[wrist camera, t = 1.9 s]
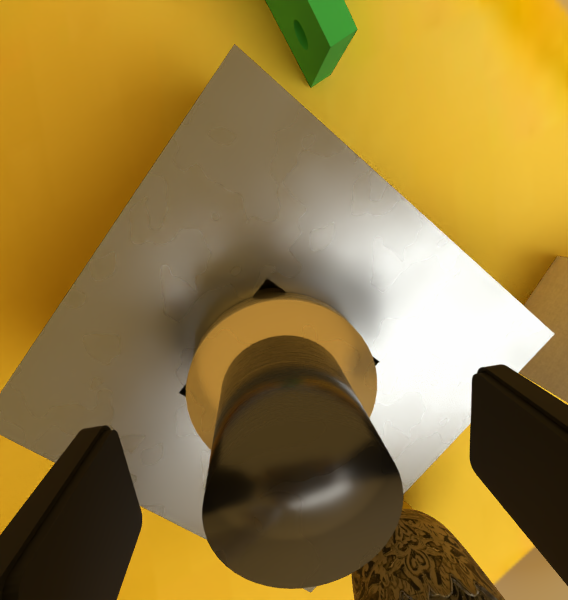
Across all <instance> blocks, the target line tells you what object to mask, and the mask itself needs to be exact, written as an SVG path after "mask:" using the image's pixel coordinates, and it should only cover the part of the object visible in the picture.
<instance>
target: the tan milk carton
mask: <svg viewBox="0 0 568 600" xmlns="http://www.w3.org/2000/svg"><path fill="white" fill-rule="evenodd" d="M524 307H525V308H527V309H528V310H529V311H530V312H531V313H532V314H533V315H534V316H535V317H536V318H538V319H539V320H540V321H541V322H542V323H543V324H544V325H545V326H546V327H548V328H549V329H550V330H551V331H552V332H553V333H554V335H553V336H552V337H551V338H550V340H549V341H548V342H547V343H546V344H545V345H544V346H543V347H542V348H541V349H540V350H539V351H538V352H537V353H536V354H535V355H534V356H533V358H532V359H531V360H530V361H529V362H528V363H527V364H526V365H525V366H524V367H523V368H522V369H521V370H520V371H519V372H518V373H520V374H521V375H523V376H525V377H526V378H528V379H530V380H531V381H533V382H535V383H536V384H538V385H540V386H541V387H543V388H544V389H546V390H548V391H549V392H551V393H553V394H554V395H556V396H558V397H559V398H561V399H563V400H564V401H566V402H567V403H568V258H567V257H561V256H557V257H556V259H555V260H554V262H553V263H552V265H551V266H550V268H549V269H548V271H547V272H546V273H545V275H544V276H543V278H542V279H541V281H540V282H539V284H538V285H537V287H536V288H535V290H534V291H533V293H532V294H531V295H530V297H529V298H528V300H527V301H526V303H525V304H524Z"/></svg>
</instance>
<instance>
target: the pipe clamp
mask: <svg viewBox="0 0 568 600" xmlns="http://www.w3.org/2000/svg"><path fill="white" fill-rule="evenodd" d="M265 1H266V3H267V5H268V7H269V8H270V10H271V12H272V14H273V16H274V18H275V20H276V22H277V24H278V26H279V28H280V30H281V31H282V33H283V35H284V37H285V39H286V41H287V43H288V45H289V47H290V49H291V51H292V53H293V55H294V56H295V58H296V60H297V62H298V64H299V66H300V68H301V70H302V72H303V74H304V76H305V78H306V80H307V81H308V83H309V85H310V87H313V86H314V85H316V84H317V83H319V82H320V81H322V80H323V79H325V78H326V77H328V76H329V75H331V73H332V72H333V70H334V68H335V66H336V65H337V63H338V61H339V60H340V58H341V56H342V55H343V53H344V51H345V50H346V48H347V46H348V44H349V43H350V41H351V39H352V38H353V36H354V34H355V33H356V31H357V27H356V25H355V23H354V21H353V19H352V16H351V14H350V12H349V10H348V8H347V6H346V4H345V1H344V0H265Z"/></svg>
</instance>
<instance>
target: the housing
mask: <svg viewBox="0 0 568 600" xmlns="http://www.w3.org/2000/svg"><path fill="white" fill-rule="evenodd" d="M265 288H281V289H283V290H284V291H285V292H287V293H295V294H301V295H306V296H309V297H312V298H315V299H318V300H320V301H322V302H324V303H326V304H328V305H330V306H331V307H333V308H334V309H336V310H337V311H338V312H339V313H341V314H342V315H343V316H344V317H345V318H346V319H347V320H348V321H349V323H350V324H351V325H352V326H353V327H354V328H355V329H356V331H357V332H358V333H359V334H360V335H361V336H362V338H363V339H364V341H365V342H366V344H367V346H368V347H369V350H370V352H371V354H372V356H373V360H374V363H375V367H376V373H377V395H376V401H375V405H374V408H373V411H372V414H371V416H370V420H371V422H372V424H373V425H374V427H375V429H376V431H377V432H378V434H379V436H380V438H381V440H382V441H383V443H384V445H385V447H386V448H387V450H388V452H389V454H390V455H391V457H392V459H393V461H394V462H395V464H396V467H397V469H398V471H399V473H400V477H401V480H402V486H403V494H404V493H405V492H406V491H407V490H408V489H409V488H410V487H411V486H412V485H413V484H414V483H415V481H416V480H417V479H418V478H419V477H420V476H421V475H422V474H423V473H424V472H425V471H426V470H427V469H428V468H429V467H430V466H431V465H432V463H433V462H434V461H435V460H436V459H437V458H438V457H439V456H440V455H441V454H442V453H443V452H444V451H445V450H446V449H447V448H448V447H449V445H450V444H451V443H452V442H453V441H454V440H455V439H456V438H457V437H458V436H459V435H460V434H461V433H462V432H463V431H464V430H465V429H466V427H467V426H468V425H469V424H470V423H471V393H472V377H473V375H474V374H477V371H478V369H479V368H481V367H486V366H493V365H499V364H504V365H506V366H508V367H509V368H511V369H512V370H514V371H515V372H517V373H518V372H519V371H520V370H521V369H522V368H523V367H524V366H525V365H526V364H527V363H528V362H529V361H530V360H531V359H532V358H533V356H534V355H535V354H536V353H537V352H538V351H539V350H540V349H541V348H542V347H543V346H544V345H545V344H546V343H547V342H548V341H549V340H550V338H551V337H552V336H553V335H554V333H553V332H552V331H551V330H550V329H549V328H548V327H546V326H545V325H544V324H543V323H542V322H541V321H540V320H539V319H538V318H536V317H535V316H534V315H533V314H532V313H531V312H530V311H529V310H528V309H527V308H525V307H524V306H523V305H522V304H521V303H520V302H519V301H518V300H517V299H516V298H514V297H513V296H512V295H511V294H510V293H509V292H508V291H507V290H506V289H504V288H503V287H502V286H501V285H500V284H499V283H498V282H497V281H496V280H495V279H493V278H492V277H491V276H490V275H489V274H488V273H487V272H486V271H485V270H484V269H482V268H481V267H480V266H479V265H478V264H477V263H476V262H475V261H474V260H472V259H471V258H470V257H469V256H468V255H467V254H466V253H465V252H464V251H463V250H461V249H460V248H459V247H458V246H457V245H456V244H455V243H454V242H453V241H451V240H450V239H449V238H448V237H447V236H446V235H445V234H444V233H443V232H442V231H440V230H439V229H438V228H437V227H436V226H435V225H434V224H433V223H432V222H431V221H429V220H428V219H427V218H426V217H425V216H424V215H423V214H422V213H421V212H419V211H418V210H417V209H416V208H415V207H414V206H413V205H412V204H411V203H410V202H408V201H407V200H406V199H405V198H404V197H403V196H402V195H401V194H400V193H399V192H397V191H396V190H395V189H394V188H393V187H392V186H391V185H390V184H389V183H387V182H386V181H385V180H384V179H383V178H382V177H381V176H380V175H379V174H378V173H376V172H375V171H374V170H373V169H372V168H371V167H370V166H369V165H368V164H366V163H365V162H364V161H363V160H362V159H361V158H360V157H359V156H358V155H357V154H355V153H354V152H353V151H352V150H351V149H350V148H349V147H348V146H347V145H346V144H344V143H343V142H342V141H341V140H340V139H339V138H338V137H337V136H336V135H334V134H333V133H332V132H331V131H330V130H329V129H328V128H327V127H326V126H325V125H323V124H322V123H321V122H320V121H319V120H318V119H317V118H316V117H315V116H314V115H312V114H311V113H310V112H309V111H308V110H307V109H306V108H305V107H304V106H302V105H301V104H300V103H299V102H298V101H297V100H296V99H295V98H294V97H293V96H291V95H290V94H289V93H288V92H287V91H286V90H285V89H284V88H283V87H282V86H280V85H279V84H278V83H277V82H276V81H275V80H274V79H273V78H272V77H270V76H269V75H268V74H267V73H266V72H265V71H264V70H263V69H262V68H261V67H259V66H258V65H257V64H256V63H255V62H254V61H253V60H252V59H251V58H249V57H248V56H247V55H246V54H245V53H244V52H243V51H242V50H241V49H240V48H238V47H237V46H236V45H235V44H234V46H233V47H232V49H231V50H230V52H229V53H228V55H227V56H226V58H225V59H224V61H223V62H222V64H221V65H220V67H219V68H218V70H217V71H216V73H215V74H214V76H213V77H212V78H211V80H210V81H209V83H208V84H207V86H206V87H205V89H204V90H203V92H202V93H201V95H200V96H199V98H198V99H197V101H196V102H195V104H194V105H193V107H192V108H191V110H190V111H189V113H188V114H187V116H186V117H185V119H184V120H183V122H182V123H181V125H180V126H179V128H178V129H177V131H176V132H175V134H174V135H173V137H172V138H171V140H170V141H169V143H168V144H167V146H166V147H165V149H164V150H163V151H162V153H161V154H160V156H159V157H158V159H157V160H156V162H155V163H154V165H153V166H152V168H151V169H150V171H149V172H148V174H147V175H146V177H145V178H144V180H143V181H142V183H141V184H140V186H139V187H138V189H137V190H136V192H135V193H134V195H133V196H132V198H131V199H130V201H129V202H128V204H127V205H126V207H125V208H124V210H123V211H122V213H121V214H120V216H119V217H118V219H117V220H116V222H115V223H114V224H113V226H112V227H111V229H110V230H109V232H108V233H107V235H106V236H105V238H104V239H103V241H102V242H101V244H100V245H99V247H98V248H97V250H96V251H95V253H94V254H93V256H92V257H91V259H90V260H89V262H88V263H87V265H86V266H85V268H84V269H83V271H82V272H81V274H80V275H79V277H78V278H77V280H76V281H75V283H74V284H73V286H72V287H71V289H70V290H69V292H68V293H67V294H66V296H65V297H64V299H63V300H62V302H61V303H60V305H59V306H58V308H57V309H56V311H55V312H54V314H53V315H52V317H51V318H50V320H49V321H48V323H47V324H46V326H45V327H44V329H43V330H42V332H41V333H40V335H39V336H38V338H37V339H36V341H35V342H34V344H33V345H32V347H31V348H30V350H29V351H28V353H27V354H26V356H25V357H24V359H23V360H22V362H21V363H20V365H19V366H18V367H17V369H16V370H15V372H14V373H13V375H12V376H11V378H10V379H9V381H8V382H7V384H6V385H5V387H4V388H3V390H2V391H1V393H0V435H2V436H4V437H6V438H8V439H10V440H12V441H13V442H15V443H17V444H19V445H21V446H23V447H25V448H27V449H29V450H31V451H33V452H35V453H37V454H39V455H41V456H43V457H45V458H47V459H49V460H51V461H53V462H55V463H56V461H57V460H58V459H59V458H60V456H61V455H62V454H63V452H64V451H65V450H66V448H67V447H68V446H69V444H70V443H71V442H72V440H73V439H74V438H75V437H76V435H77V434H78V433H79V431H80V430H82V429H84V428H90V427H97V426H103V425H107V426H109V427H110V428H111V430H116V431H117V432H118V435H119V438H120V441H121V444H122V448H123V451H124V455H125V458H126V461H127V465H128V468H129V472H130V475H131V478H132V482H133V485H134V488H135V492H136V495H137V499H138V502H139V505H140V506H142V507H144V508H145V509H147V510H149V511H151V512H153V513H155V514H157V515H159V516H161V517H163V518H165V519H167V520H169V521H171V522H173V523H175V524H177V525H179V526H181V527H183V528H185V529H187V530H189V531H191V532H193V533H195V534H197V535H199V536H201V537H203V538H205V539H207V538H206V535H205V532H204V528H203V522H202V505H203V499H204V493H205V486H206V480H207V474H208V468H209V462H210V456H211V450H210V449H209V448H208V446H207V445H206V444H205V443H204V442H203V441H202V439H201V438H200V436H199V435H198V433H197V432H196V430H195V428H194V426H193V424H192V422H191V419H190V416H189V413H188V409H187V402H186V382H187V376H188V372H189V369H190V365H191V362H192V360H193V357H194V354H195V352H196V349H197V347H198V345H199V343H200V341H201V339H202V337H203V336H204V334H205V333H206V331H207V330H208V328H209V327H210V326H211V325H212V324H213V323H214V321H215V320H216V319H217V318H219V317H220V316H221V315H222V314H223V313H224V312H226V311H227V310H229V309H230V308H232V307H233V306H235V305H237V304H239V303H241V302H243V301H245V300H247V299H250V298H252V297H253V296H254V294H255V293H256V292H257V291H258V290H261V289H265ZM315 587H316V586H315ZM315 587H308V588H303V589H305V590H307V591H309V592H312V591H313V589H314V588H315Z"/></svg>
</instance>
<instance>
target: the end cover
mask: <svg viewBox="0 0 568 600" xmlns="http://www.w3.org/2000/svg"><path fill="white" fill-rule="evenodd" d="M376 395H377V373H376V367H375V363H374V360H373V356H372V354H371V352H370V350H369V347H368V346H367V344H366V342H365V341H364V339H363V338H362V336H361V335H360V334H359V333H358V332H357V331H356V329H355V328H354V327H353V326H352V325H351V324H350V323H349V321H348V320H347V319H346V318H345V317H344V316H343V315H342V314H341V313H339V312H338V311H337V310H336V309H334V308H333V307H331V306H330V305H328V304H326V303H324V302H322V301H320V300H318V299H315V298H312V297H309V296H306V295H301V294H295V293H287V292H285V291H284V290H283V289H281V288H265V289H261V290H258V291H257V292H256V293H255V294H254V296H253V297H252V298H250V299H247V300H245V301H243V302H241V303H239V304H237V305H235V306H233V307H232V308H230V309H229V310H227V311H226V312H224V313H223V314H222V315H221V316H220V317H219V318H217V319H216V320H215V321H214V323H213V324H212V325H211V326H210V327H209V328H208V330H207V331H206V333H205V334H204V336H203V337H202V339H201V341H200V343H199V345H198V347H197V349H196V352H195V354H194V357H193V360H192V362H191V365H190V369H189V372H188V376H187V382H186V402H187V409H188V413H189V416H190V419H191V422H192V424H193V426H194V428H195V430H196V432H197V433H198V435H199V436H200V438H201V439H202V441H203V442H204V443H205V444H206V445H207V446H208V448H209V449H210V450H211V456H210V462H209V468H208V474H207V480H206V486H205V493H204V499H203V505H202V522H203V528H204V532H205V535H206V538H207V541H208V543H209V544H210V546H211V548H212V550H213V551H214V553H215V554H216V555H217V557H218V558H219V559H220V560H221V561H222V562H223V563H224V564H225V565H226V566H227V567H228V568H230V569H231V570H232V571H234V572H235V573H237V574H238V575H240V576H242V577H244V578H245V579H248V580H250V581H253V582H255V583H258V584H262V585H265V586H270V587H276V588H288V589H295V588H308V587H315V586H319V585H323V584H327V583H330V582H333V581H336V580H339V579H341V578H343V577H345V576H347V575H349V574H351V573H353V572H355V571H356V570H358V569H360V568H361V567H362V566H364V565H365V564H367V563H368V562H369V561H370V560H372V559H373V558H374V557H375V556H376V555H377V554H378V553H379V552H380V551H381V550H382V548H383V547H384V546H385V545H386V544H387V542H388V541H389V539H390V538H391V536H392V535H393V533H394V531H395V529H396V527H397V525H398V522H399V519H400V516H401V512H402V507H403V486H402V480H401V477H400V473H399V471H398V469H397V467H396V464H395V462H394V461H393V459H392V457H391V455H390V454H389V452H388V450H387V448H386V447H385V445H384V443H383V441H382V440H381V438H380V436H379V434H378V432H377V431H376V429H375V427H374V425H373V424H372V422H371V420H370V416H371V414H372V411H373V408H374V405H375V401H376Z"/></svg>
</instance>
